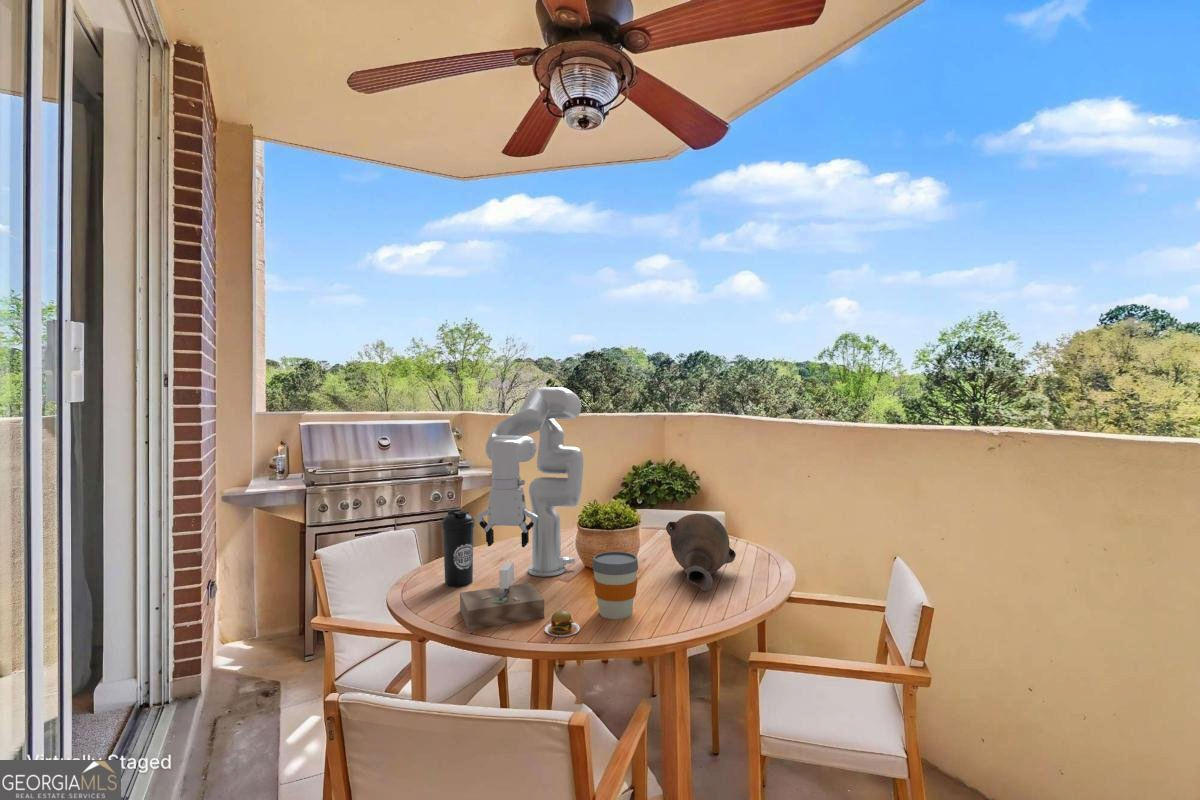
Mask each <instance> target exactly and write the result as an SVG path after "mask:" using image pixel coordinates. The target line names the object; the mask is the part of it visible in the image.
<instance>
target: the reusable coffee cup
mask: <svg viewBox="0 0 1200 800" xmlns="http://www.w3.org/2000/svg"><path fill="white" fill-rule="evenodd" d="M592 559H593V560H592V571H593V576H594V577H593V579H592V580H593V587H594V593H595V597H596V598H597V604H598V605H597V606H598V613H600V614H599V615H600V616H601V617H603V618H606V619H609V620H620V619H621V620H623V619H626V618H629V617H631V616H632V614H633V608H634V600H635V597H636V594H637V587H638V576H637V573H638V570H639V561H638V556H637V555H635V554H633V553H631V552H627V551H606V552H605V551H604V552H600V553H596V554H595V555H594V556H593V558H592Z"/></svg>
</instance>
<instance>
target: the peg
mask: <svg viewBox="0 0 1200 800" xmlns="http://www.w3.org/2000/svg"><path fill="white" fill-rule="evenodd" d="M514 564H515V563H514V562H510V561H509V562H508V561H506V562H505V563H504V564H503V565H502V566H501V568H500V569H499V572H498V573H499V578H498V579H499V587H500V589H504V592H503V593H502V595H501V596H500V597H499V599H503V597H504V596H505V595H506V593H507V592H509V591H510V590H509V586H512V583H514V580H515V570H514V569H515V567H514V566H515V565H514Z"/></svg>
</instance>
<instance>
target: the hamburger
mask: <svg viewBox="0 0 1200 800" xmlns="http://www.w3.org/2000/svg"><path fill="white" fill-rule="evenodd" d="M574 626H575V628H577V629H576V631H575V632H573V633H572V634H567V633H570V631H571V630H572V627H574ZM549 629H551V630H552V632H553V633H555V634H551V633H550V632H549ZM580 629H581V627H580V625H579V624H578V623H576V622H574V621H573V620H572V614H571V613H570V612H569V611H567V610H564V609H560V610H557V611H554V612H553V614H552V616H551V621H550V623H549V624H547V625H546V626H545V627H544V632H545V633H546V634H548V635H549V636H553V637H558V636H559V637H560V638H561V637H562V638H564V637H568V636H569V637H570V636H572V635H575V634H577V633H579V631H580ZM556 634H558V635H556ZM562 634H564V635H562ZM565 634H566V635H565Z"/></svg>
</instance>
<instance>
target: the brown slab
mask: <svg viewBox="0 0 1200 800" xmlns="http://www.w3.org/2000/svg"><path fill="white" fill-rule="evenodd" d="M509 590H510V591H509V592H507V593H506V595H505V596H504V597H503V599H499V597H500V596H501V595H502V593H503V592H504V589H500V586H499V587H493V588H491V587H490V588H485V589H479V590H471V591H463V592H459V611H460V614H461V616H462V619H463V622H464V623H465V626H466V629H467V631H472V630H479V629H486V628H491V627H497V626H503V625H509V624H515V623H516V624H517V623H522V622H527V621H528V622H529V621H533V620H534V621H535V620H539V619H540V620H541V619H545V599H544V597H543V595H541V593H540V592H539V591H538V590H537V588H535V586H534V585H533V584H532V583H531V582H529V583H521V584H520V583H519V584H515V585H510V586H509Z"/></svg>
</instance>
